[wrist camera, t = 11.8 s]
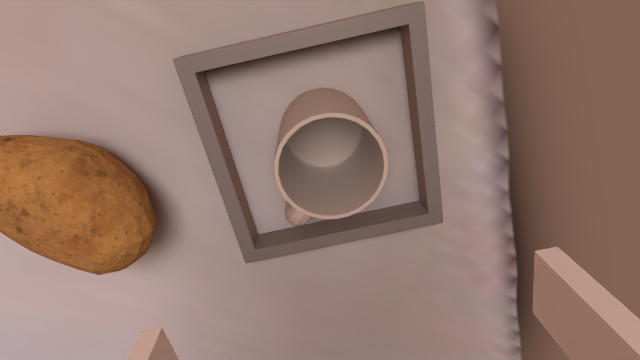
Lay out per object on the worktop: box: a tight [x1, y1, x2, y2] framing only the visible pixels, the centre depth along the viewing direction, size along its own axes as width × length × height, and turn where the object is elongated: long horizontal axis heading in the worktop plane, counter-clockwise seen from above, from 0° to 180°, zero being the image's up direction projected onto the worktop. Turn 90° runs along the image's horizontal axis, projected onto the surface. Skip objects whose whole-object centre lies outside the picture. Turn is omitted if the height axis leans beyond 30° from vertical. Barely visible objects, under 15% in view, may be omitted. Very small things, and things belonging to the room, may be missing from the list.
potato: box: [0, 135, 156, 275], centre depth 29 cm, size 10×14×8 cm
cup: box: [274, 88, 389, 226], centre depth 28 cm, size 7×10×9 cm
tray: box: [173, 2, 443, 263], centre depth 31 cm, size 18×18×2 cm
